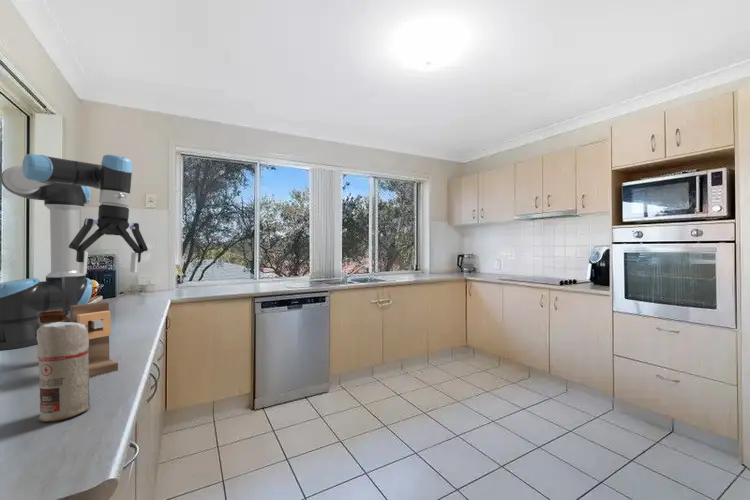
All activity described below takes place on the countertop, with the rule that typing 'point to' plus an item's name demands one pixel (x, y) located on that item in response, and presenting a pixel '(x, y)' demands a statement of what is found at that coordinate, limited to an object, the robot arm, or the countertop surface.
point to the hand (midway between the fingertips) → (109, 272)
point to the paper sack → (63, 370)
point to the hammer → (74, 299)
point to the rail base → (95, 340)
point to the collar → (95, 316)
